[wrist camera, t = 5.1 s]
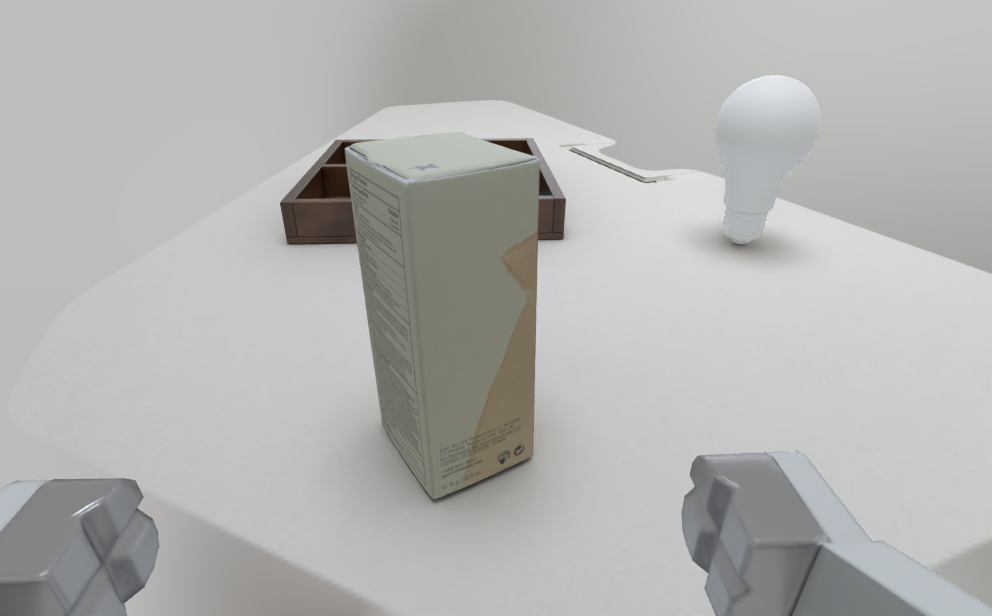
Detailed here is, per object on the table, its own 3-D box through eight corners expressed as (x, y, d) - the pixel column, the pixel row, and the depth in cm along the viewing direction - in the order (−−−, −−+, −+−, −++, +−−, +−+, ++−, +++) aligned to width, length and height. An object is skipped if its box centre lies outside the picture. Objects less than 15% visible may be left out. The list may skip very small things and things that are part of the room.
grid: (287, 244, 39) (279, 202, 37) (339, 170, 56) (335, 139, 54) (563, 239, 40) (565, 198, 38) (532, 168, 57) (533, 138, 55)
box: (536, 459, 21) (551, 158, 15) (430, 506, 19) (405, 181, 13) (468, 385, 25) (462, 126, 19) (375, 418, 23) (339, 139, 17)
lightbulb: (676, 232, 41) (704, 71, 36) (746, 224, 43) (783, 69, 37) (729, 265, 36) (771, 83, 31) (807, 254, 37) (859, 79, 32)
